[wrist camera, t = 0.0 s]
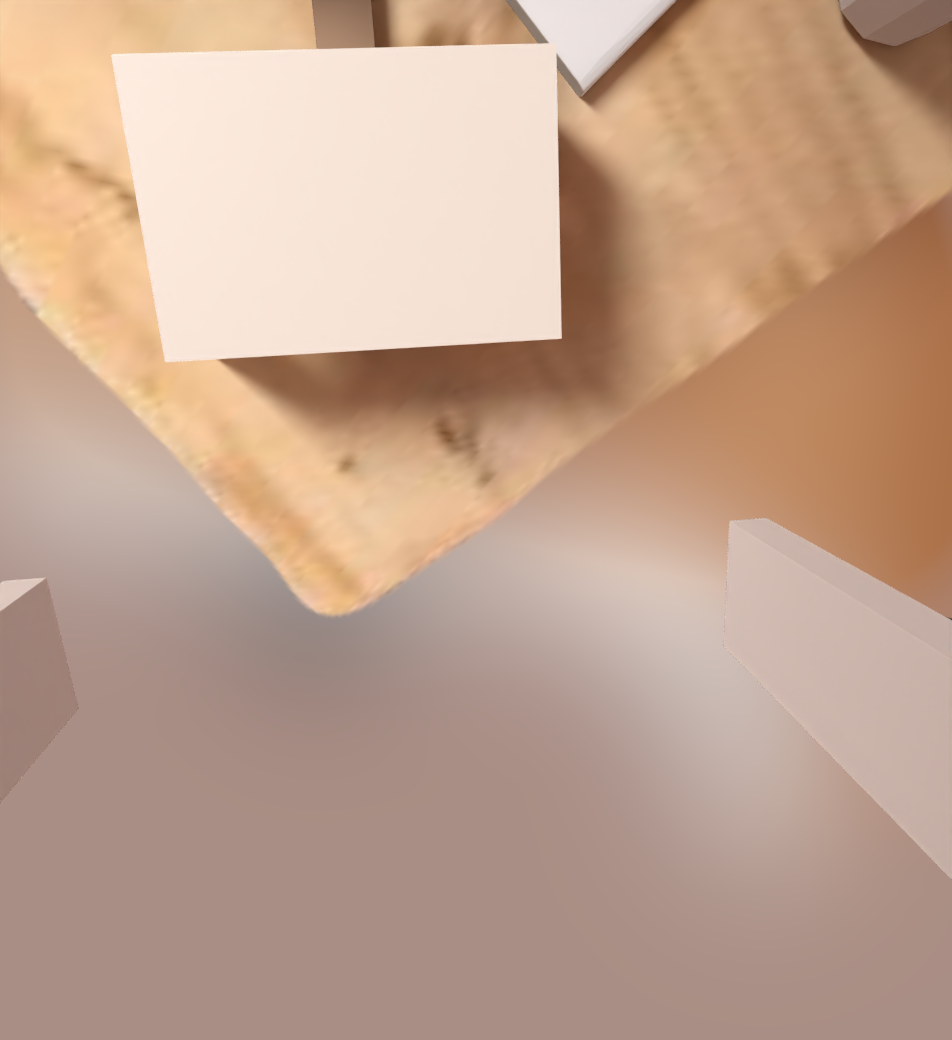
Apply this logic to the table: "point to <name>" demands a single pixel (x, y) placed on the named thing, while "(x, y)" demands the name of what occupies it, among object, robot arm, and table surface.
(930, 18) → the water bottle
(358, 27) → the walnut paddle
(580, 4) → the external hard drive
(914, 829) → the robot arm
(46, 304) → the table surface
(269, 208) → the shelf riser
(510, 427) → the table surface
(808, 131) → the table surface
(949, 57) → the table surface
